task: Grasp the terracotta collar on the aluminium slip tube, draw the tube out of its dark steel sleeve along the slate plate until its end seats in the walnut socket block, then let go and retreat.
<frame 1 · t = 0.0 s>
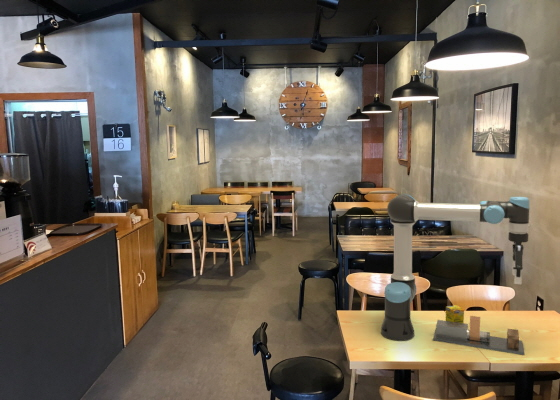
hand: (516, 279, 186), 28 cm above the table, fingers open, 13 cm apart
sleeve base: (477, 341, 188), on the table
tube: (465, 326, 190), point 6 cm above the table, slide at 0.0 cm
supplement box: (454, 330, 202), on the table
socket block: (512, 347, 182), resting on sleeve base
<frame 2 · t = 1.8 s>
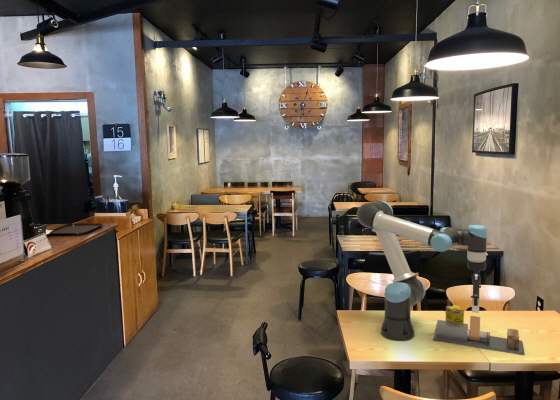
hand: (475, 307, 187), 16 cm above the table, fingers open, 13 cm apart
nothing on the table moved.
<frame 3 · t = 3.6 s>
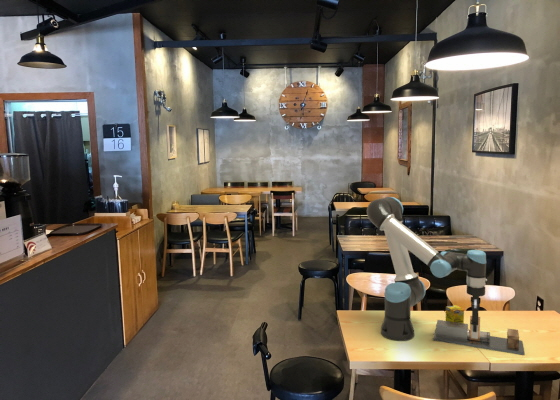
hand: (474, 335, 188), 3 cm above the table, fingers closed on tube, 4 cm apart
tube: (465, 326, 190), point 6 cm above the table, slide at 0.0 cm, touching gripper
everything else where it was.
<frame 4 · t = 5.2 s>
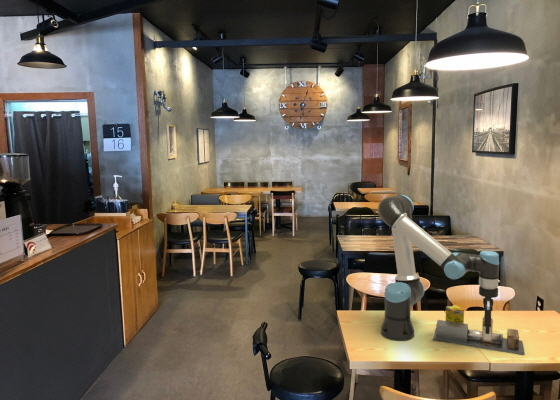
hand: (487, 337, 186), 3 cm above the table, fingers closed on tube, 4 cm apart
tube: (477, 328, 187), point 6 cm above the table, slide at 5.0 cm, touching gripper
everything else where it was.
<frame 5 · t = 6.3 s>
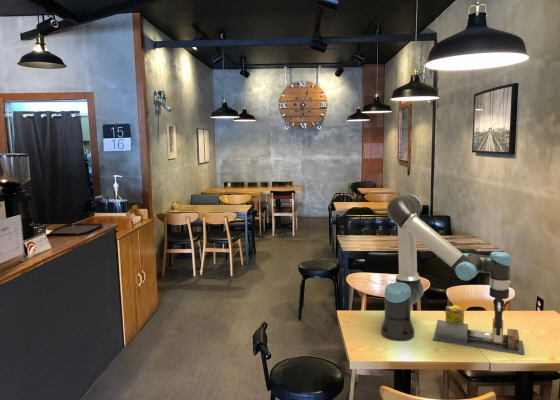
hand: (497, 339, 184), 3 cm above the table, fingers closed on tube, 4 cm apart
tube: (487, 330, 186), point 6 cm above the table, slide at 9.1 cm, touching gripper
everything else where it was.
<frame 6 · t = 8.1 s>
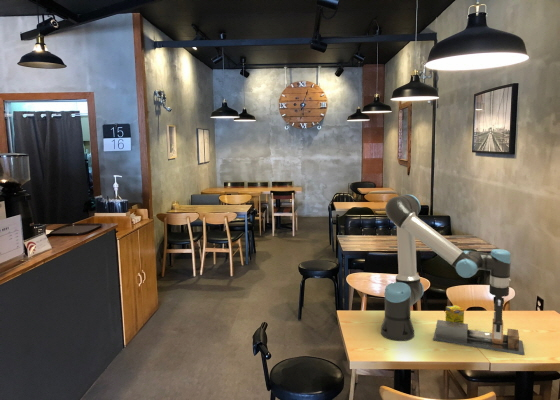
hand: (497, 332, 184), 6 cm above the table, fingers open, 13 cm apart
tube: (487, 329, 186), point 6 cm above the table, slide at 9.0 cm
everything else where it was.
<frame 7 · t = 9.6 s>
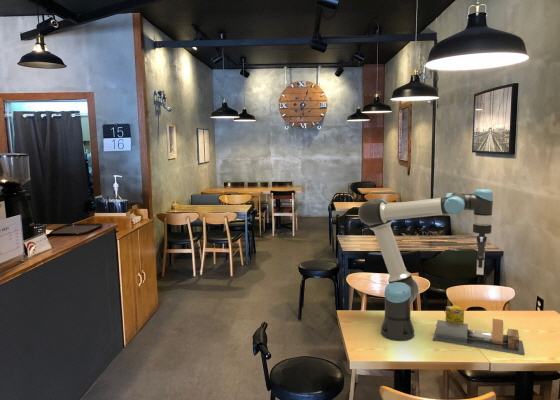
hand: (480, 270, 190), 31 cm above the table, fingers open, 13 cm apart
nothing on the table moved.
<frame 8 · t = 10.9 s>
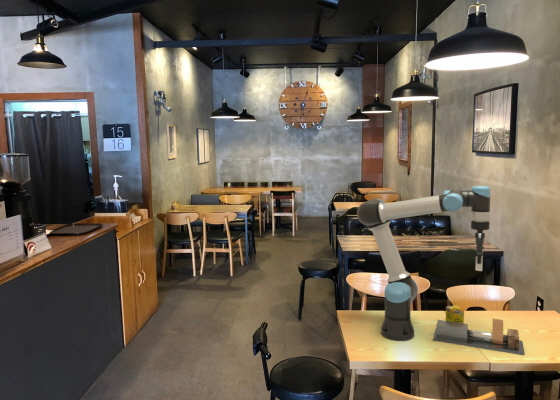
hand: (479, 266, 191), 33 cm above the table, fingers open, 13 cm apart
nothing on the table moved.
at the end: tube slide at 9.0 cm; the gripper is holding nothing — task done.
